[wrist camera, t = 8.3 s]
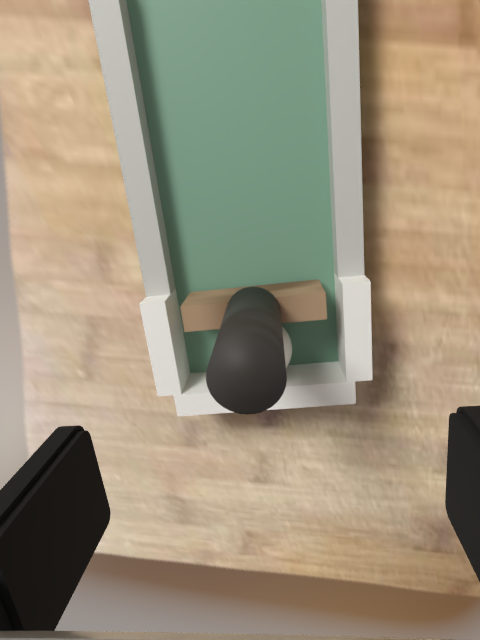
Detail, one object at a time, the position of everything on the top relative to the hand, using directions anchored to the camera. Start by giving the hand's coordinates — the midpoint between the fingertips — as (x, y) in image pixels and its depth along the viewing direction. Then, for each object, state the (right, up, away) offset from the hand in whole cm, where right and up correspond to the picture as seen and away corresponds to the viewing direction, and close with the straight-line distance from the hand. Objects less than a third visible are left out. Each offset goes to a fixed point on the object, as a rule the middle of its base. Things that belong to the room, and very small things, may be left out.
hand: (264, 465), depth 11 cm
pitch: (0, +11, +15) cm, 18 cm away
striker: (0, +5, +15) cm, 16 cm away
